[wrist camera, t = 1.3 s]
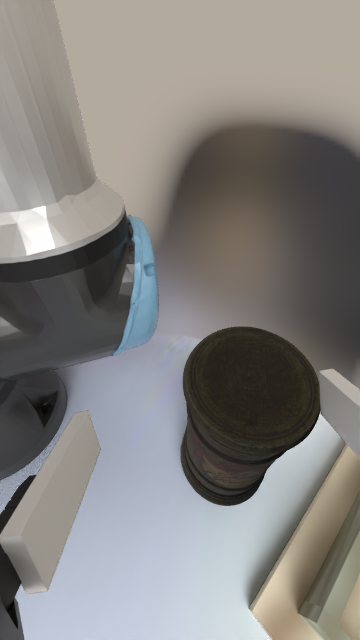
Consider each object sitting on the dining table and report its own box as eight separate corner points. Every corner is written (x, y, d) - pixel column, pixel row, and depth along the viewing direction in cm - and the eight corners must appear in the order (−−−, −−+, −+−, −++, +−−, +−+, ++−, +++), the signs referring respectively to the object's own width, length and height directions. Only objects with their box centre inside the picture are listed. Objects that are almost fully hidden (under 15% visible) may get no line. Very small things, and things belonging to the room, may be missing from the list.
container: (172, 429, 31) (162, 336, 18) (241, 410, 33) (279, 310, 19) (195, 519, 25) (204, 480, 12) (277, 491, 27) (366, 427, 14)
